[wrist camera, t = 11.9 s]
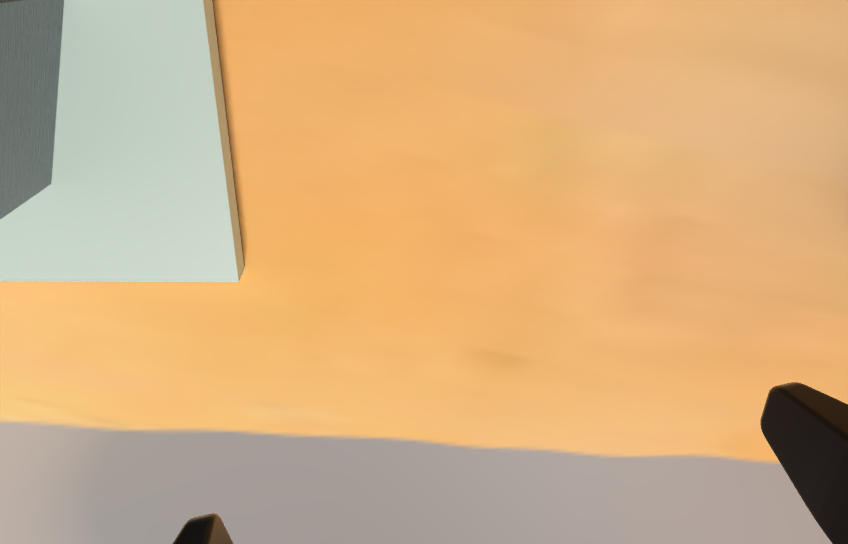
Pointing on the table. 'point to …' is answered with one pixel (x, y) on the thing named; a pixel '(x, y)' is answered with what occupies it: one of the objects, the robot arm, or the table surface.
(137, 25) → the pin board
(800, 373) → the table surface
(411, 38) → the table surface
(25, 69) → the square open box
